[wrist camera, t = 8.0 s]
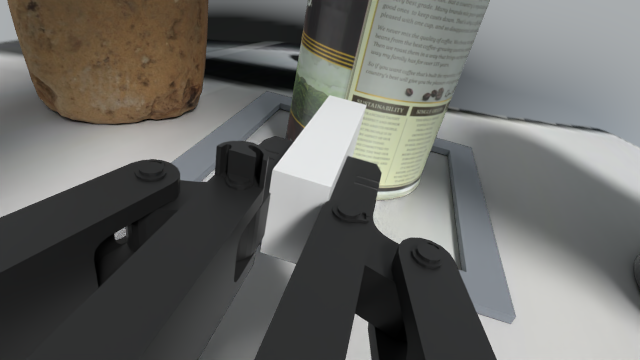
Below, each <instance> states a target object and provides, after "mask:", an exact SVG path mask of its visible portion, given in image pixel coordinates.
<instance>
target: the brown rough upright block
mask: <svg viewBox="0 0 640 360" xmlns="http://www.w3.org/2000/svg"><path fill="white" fill-rule="evenodd" d="M8 5H9V8H10V12H11V16H12V19H13V23H14V26H15V30H16V33H17V36H18V40H19V43H20V46H21V49H22V52H23V55H24V58H25V61H26V64H27V67H28V70H29V73H30V76H31V79H32V82H33V84H34V87H35V89H36V92H37V94H38V96H39V98H40V99H41V100H43V102H44V104H45V105H46V106H48V107H49V108H50V109H51V110H53V111H56V112H58V113H59V114H60V115H61V116H63V117H67V118H70V119H72V120H80V121H85V122H90V123H94V124H118V123H134V122H139V121H141V120H144V119H148V118H149V119H155V120H157V119H164V118H170V117H177V116H181V115H182V114H183V113H184V112H186V111H189V110H192V109H194V108H195V107H196V106H197V104H198V101H199V98H200V94H201V92H202V86H203V78H204V70H205V59H206V44H207V24H208V23H207V22H208V0H8Z"/></svg>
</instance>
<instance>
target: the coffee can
mask: <svg viewBox="0 0 640 360" xmlns="http://www.w3.org/2000/svg"><path fill="white" fill-rule="evenodd" d="M489 2H490V0H308V3H307V9H306V15H305V22H304V28H303V35H302V41H301V47H300V53H299V60H298V66H297V72H296V79H295V85H294V91H293V97H292V103H291V109H290V115H289V121H288V126H287V133H286V139H287V140H290V141H295V140H296V138H297V137H298V136H299V135H300V133H301V132H302V131H303V129H304V128H305V127H306V125H307V124H308V123H309V121H310V120H311V119H312V118H313V116H314V115H315V114H316V112H317V111H318V110H319V108H320V107H321V106H322V104H323V103H324V102H325V101H326V99H327V98H328V97H329V95H331V96H335V97H338V98H342V99H346V100H349V101H353V102H357V103H360V104H364V105H366V109H365V113H364V116H363V120H362V124H361V127H360V131H359V135H358V138H357V142H356V146H355V150H354V153H353V157H354V158H357V159H361V160H364V161H368V162H371V163H374V164H377V165H378V167H379V169H380V171H381V173H382V174H381V179H380V184H379V188H378V193H377V198H376V200H390V199H394V198H400V197H403V196H405V195H407V194H409V193H411V192H412V191H414V190H415V189H416V187H417V186H418V184H419V183H420V179H421V174H422V171H423V169H424V166H425V164H426V161H427V158H428V156H429V153H430V151H431V148H432V146H433V143H434V141H435V138H436V136H437V133H438V131H439V128H440V126H441V123H442V121H443V118H444V115H445V113H446V110H447V108H448V106H449V103H450V100H451V98H452V95H453V93H454V90H455V88H456V85H457V83H458V80H459V77H460V75H461V72H462V70H463V67H464V65H465V62H466V60H467V57H468V55H469V52H470V50H471V47H472V44H473V42H474V40H475V37H476V35H477V32H478V30H479V27H480V25H481V22H482V20H483V17H484V14H485V12H486V9H487V7H488V4H489Z"/></svg>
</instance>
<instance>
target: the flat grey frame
mask: <svg viewBox="0 0 640 360" xmlns="http://www.w3.org/2000/svg"><path fill="white" fill-rule="evenodd" d="M291 103H292V98H290V97H287V96H283V95H280V94H276V93H272V92H269V91H266V92H265V93H264V94H262V95H261V96H260V97H258V98H257V99H256V100H254V101H253V102H252V103H250V104H249V105H248V106H246V107H245V108H244V109H242V110H241V111H240V112H238V113H237V114H236V115H234V116H233V117H232V118H230V119H229V120H228V121H226V122H225V123H224V124H222V125H221V126H220V127H218V128H217V129H216V130H214V131H213V132H212V133H210V134H209V135H208V136H206V137H205V138H204V139H202V140H201V141H200V142H198V143H197V144H196V145H194V146H193V147H192V148H190V149H189V150H188V151H186V152H185V153H184V154H182V155H181V156H180V157H178V158H177V159H176V160H174V161H173V162H172V164H173V165H175V166H176V167H177V168H178V169H179V172H180V180H185V181H195V182H201V181H202V180H203V179H204V178H205V177H206V176H207V175H209V174H210V173H211V172H212V171H213V170H214V169H215V164H216V147H217V145H219V144H221V143H223V142H228V141H245V140H246V139H247V138H248V137H249V136H250V135H251V134H253V133H254V132H255V131H256V130H257V129H258V128H259V127H260V126H261V125H262V124H263V123H264V122H265V121H266V120H268V119H269V118H270V117H271V116H272V115H273V114H274V113H275V112H276V111H277V110H278V109H279V108H280V109H283V110H287V111H290V109H291ZM431 151H433V152H437V153H440V154H444V155H447V156H448V162H449V170H450V178H451V186H452V194H453V203H454V211H455V219H456V227H457V235H458V244H459V252H460V260H461V268H462V271H461V270H459V272H460V275H461V277H462V279H463V282H464V284H465V286H466V289H467V291H468V293H469V296H470V298H471V300H472V303H473V305H474V307H475V310H476V312H477V313H478V314H482V315H485V316H488V317H491V318H494V319H497V320H500V321H503V322H506V323H509V324H511V323H512V321H513V320H514V319H515V317H516V315H515V312H514V308H513V304H512V300H511V296H510V293H509V289H508V285H507V281H506V277H505V274H504V270H503V266H502V262H501V258H500V254H499V251H498V247H497V243H496V239H495V235H494V232H493V228H492V224H491V220H490V216H489V213H488V209H487V205H486V201H485V197H484V194H483V190H482V186H481V182H480V178H479V174H478V171H477V167H476V163H475V159H474V155H473V152H472V148H471V147H468V146H464V145H461V144H457V143H453V142H450V141H446V140H442V139H439V138H435V141H434V143H433V146H432V148H431ZM260 243H262V240H261V242H260Z"/></svg>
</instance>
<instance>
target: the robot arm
mask: <svg viewBox="0 0 640 360" xmlns="http://www.w3.org/2000/svg"><path fill="white" fill-rule="evenodd" d="M365 109H366V105H364V104H360V103H357V102H353V101H349V100H346V99H342V98H338V97H335V96H331V95H329V97H328V98H327V99H326V101H325V102H324V103H323V104H322V106H321V107H320V108H319V110H318V111H317V112H316V114H315V115H314V116H313V118H312V119H311V120H310V121H309V123H308V124H307V125H306V127H305V128H304V129H303V131H302V132H301V133H300V135H299V136H298V137H297V138H296V140H295V141H290V140H287V139H284V138H280V137H277V136H274V137H271V138H268V139H266V140H263V142H262V143H261V144H260V145H257V144H254V143H251V142H246V141H228V142H223V143H221V144H219V145H217V147H216V164H215V175H214V176H213V177H212V178H211V179H210V180H209V181H208V182H195V181H185V180H180V172H179V169H178V168H177V167H176V166H175V165H173V164H172V163H169V162H166V161H162V160H155V159H150V160H141V161H138V162H134V163H131V164H128V165H126V166H124V167H121V168H119V169H116V170H114V171H112V172H109V173H107V174H104V175H102V176H99V177H97V178H95V179H92V180H90V181H87V182H85V183H83V184H80V185H78V186H75V187H73V188H71V189H68V190H66V191H63V192H61V193H58V194H56V195H54V196H51V197H49V198H46V199H44V200H42V201H39V202H37V203H34V204H32V205H30V206H27V207H25V208H22V209H20V210H17V211H15V212H13V213H10V214H8V215H5V216H3V217H1V218H0V360H198V359H199V357H200V356H201V354H202V352H203V350H204V349H205V347H206V345H207V343H208V342H209V340H210V338H211V337H212V335H213V333H214V331H215V330H216V328H217V326H218V324H219V323H220V321H221V319H222V317H223V316H224V314H225V312H226V311H227V309H228V307H229V305H230V304H231V302H232V300H233V298H234V297H235V295H236V293H237V292H238V290H239V288H240V286H241V285H242V283H243V281H244V279H245V278H246V276H247V274H248V273H249V271H250V269H251V267H252V266H253V263H254V259H255V252H256V248H257V247H258V245H259V243H260V242H261V240H262V244H261V251H260V252H261V253H264V254H267V255H270V256H273V257H276V258H280V259H283V260H286V261H289V262H292V263H295V264H296V266H295V269H294V271H293V273H292V275H291V278H290V280H289V282H288V284H287V287H286V289H285V291H284V294H283V296H282V298H281V300H280V303H279V305H278V307H277V309H276V312H275V314H274V316H273V318H272V321H271V323H270V325H269V328H268V330H267V332H266V334H265V337H264V339H263V341H262V343H261V346H260V348H259V350H258V353H257V355H256V357H255V359H254V360H345V359H346V354H347V349H348V344H349V339H350V334H351V330H352V325H353V320H354V315H355V314H357V315H358V316H360V317H361V318H363V319H364V320H366V321H367V322H369V323H368V333H369V341H370V350H371V358H372V360H497V359H496V357H495V354H494V352H493V350H492V347H491V345H490V343H489V340H488V338H487V335H486V333H485V331H484V328H483V326H482V324H481V321H480V319H479V317H478V314H477V312H476V310H475V307H474V305H473V303H472V300H471V298H470V296H469V293H468V291H467V289H466V286H465V284H464V282H463V279H462V277H461V275H460V272H459V270H458V268H457V265H456V263H455V261H454V259H453V258H452V256H451V255H450V253H449V252H447V251H446V250H445V249H444V248H443V247H441V246H440V245H438V244H436V243H434V242H432V241H430V240H426V239H423V238H408V239H405V240H403V241H402V242H401V243H400V244H398V243H396V242H394V241H392V240H391V239H389V238H388V237H386V236H385V235H383V234H382V233H381V232H380V231H379V230H378V229H377V227H376V226H375V224H374V221H373V212H374V208H375V203H376V198H377V193H378V188H379V184H380V179H381V174H382V173H381V171H380V169H379V167H378V165H377V164H374V163H371V162H368V161H364V160H361V159H357V158H354V157H353V153H354V150H355V146H356V142H357V138H358V135H359V131H360V127H361V124H362V120H363V116H364V113H365ZM124 227H126V236H125V237H123V238H121V239H119V240H115V237H114V233H116V232H117V231H119V230H121V229H123V228H124ZM634 273H635V277H636V280H637V283H638V285H639V288H640V254H639V255H638V257H637V258H636V260H635V263H634Z"/></svg>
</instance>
